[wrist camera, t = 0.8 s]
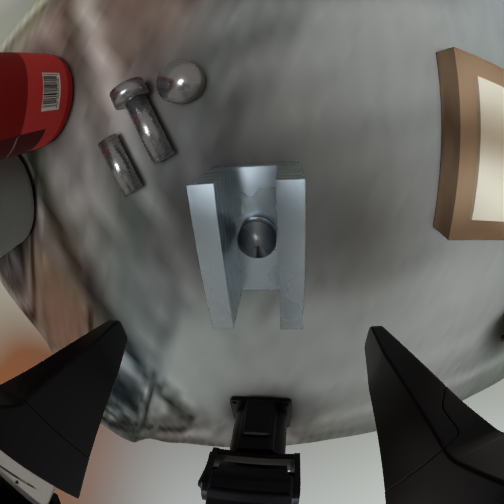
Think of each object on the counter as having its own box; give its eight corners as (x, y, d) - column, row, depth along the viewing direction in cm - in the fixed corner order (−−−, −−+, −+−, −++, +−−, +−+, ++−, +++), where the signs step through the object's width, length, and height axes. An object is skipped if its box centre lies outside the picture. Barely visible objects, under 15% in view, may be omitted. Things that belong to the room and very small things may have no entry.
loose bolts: (236, 137, 15) (229, 139, 13) (131, 193, 17) (114, 203, 15) (193, 52, 12) (180, 43, 10) (95, 119, 14) (75, 121, 13)
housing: (299, 279, 19) (302, 329, 14) (228, 280, 19) (212, 327, 15) (298, 161, 15) (304, 179, 11) (213, 166, 16) (186, 185, 11)
